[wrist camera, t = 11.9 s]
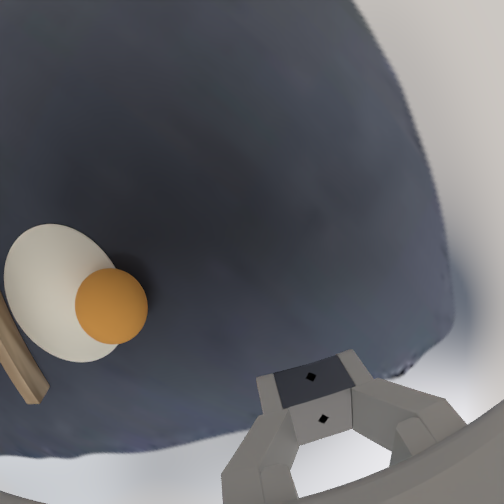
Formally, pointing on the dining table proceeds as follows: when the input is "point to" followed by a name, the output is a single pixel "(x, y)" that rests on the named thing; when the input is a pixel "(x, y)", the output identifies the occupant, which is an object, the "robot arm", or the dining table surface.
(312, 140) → the dining table surface
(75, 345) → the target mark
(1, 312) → the bar
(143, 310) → the ball
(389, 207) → the dining table surface
